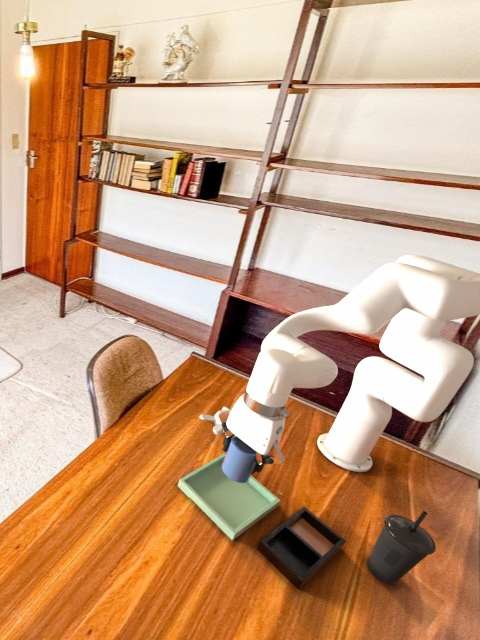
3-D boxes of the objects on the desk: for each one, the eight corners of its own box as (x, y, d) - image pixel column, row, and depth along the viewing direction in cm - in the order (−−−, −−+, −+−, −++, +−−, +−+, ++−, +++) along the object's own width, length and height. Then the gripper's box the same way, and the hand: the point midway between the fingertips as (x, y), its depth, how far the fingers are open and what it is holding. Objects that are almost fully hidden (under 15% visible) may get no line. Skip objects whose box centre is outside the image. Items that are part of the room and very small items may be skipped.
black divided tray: (299, 515, 95) (304, 506, 94) (340, 549, 88) (346, 540, 87) (255, 550, 87) (260, 541, 86) (297, 591, 80) (303, 582, 79)
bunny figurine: (261, 423, 116) (222, 430, 111) (255, 436, 118) (216, 443, 113) (237, 401, 124) (199, 406, 119) (231, 414, 126) (194, 419, 121)
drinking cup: (412, 597, 80) (464, 537, 71) (370, 588, 81) (416, 527, 72) (389, 558, 87) (433, 498, 78) (350, 550, 88) (390, 490, 79)
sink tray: (221, 459, 109) (224, 452, 108) (277, 507, 97) (280, 500, 95) (177, 486, 101) (179, 479, 100) (231, 541, 89) (234, 534, 88)
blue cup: (232, 456, 99) (242, 430, 95) (255, 476, 94) (267, 449, 90) (216, 466, 96) (225, 439, 92) (239, 487, 91) (250, 459, 87)
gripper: (314, 422, 80) (286, 482, 88) (238, 373, 94) (218, 429, 101) (294, 436, 77) (266, 496, 85) (217, 382, 90) (199, 439, 98)
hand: (240, 459), depth 93 cm, fingers closed on blue cup, 6 cm apart
